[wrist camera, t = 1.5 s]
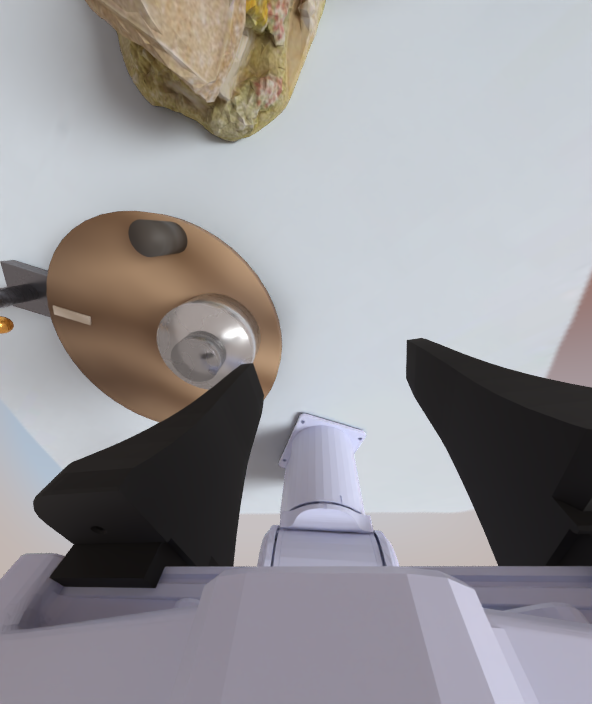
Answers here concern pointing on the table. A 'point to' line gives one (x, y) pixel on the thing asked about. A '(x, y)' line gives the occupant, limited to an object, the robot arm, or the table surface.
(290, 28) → the ceramic model
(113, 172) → the table surface
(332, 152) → the table surface
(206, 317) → the cover
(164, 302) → the turntable
